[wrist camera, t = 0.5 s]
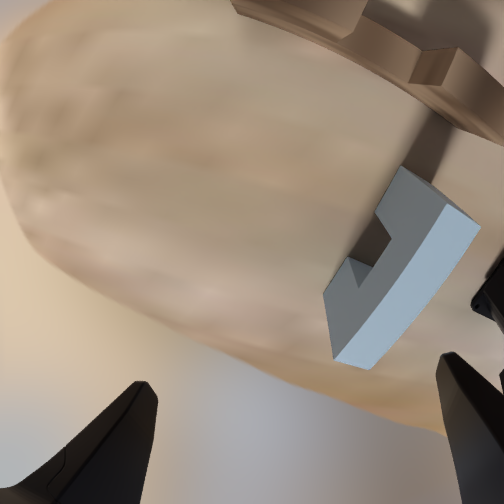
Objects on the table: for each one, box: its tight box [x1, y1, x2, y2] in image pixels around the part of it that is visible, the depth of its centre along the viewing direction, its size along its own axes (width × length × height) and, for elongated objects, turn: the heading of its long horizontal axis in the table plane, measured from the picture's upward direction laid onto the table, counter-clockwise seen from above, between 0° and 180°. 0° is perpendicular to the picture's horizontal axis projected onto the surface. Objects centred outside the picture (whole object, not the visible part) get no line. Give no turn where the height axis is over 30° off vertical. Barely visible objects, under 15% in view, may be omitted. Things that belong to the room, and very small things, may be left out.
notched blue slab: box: [323, 165, 481, 370], centre depth 17 cm, size 2×10×6 cm, turn 158°
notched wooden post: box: [230, 0, 504, 147], centre depth 11 cm, size 14×2×6 cm, turn 68°
